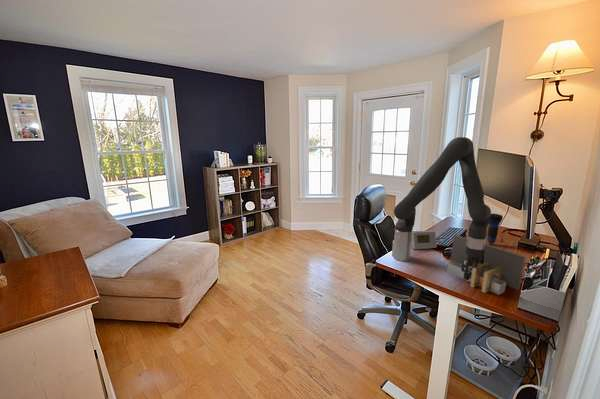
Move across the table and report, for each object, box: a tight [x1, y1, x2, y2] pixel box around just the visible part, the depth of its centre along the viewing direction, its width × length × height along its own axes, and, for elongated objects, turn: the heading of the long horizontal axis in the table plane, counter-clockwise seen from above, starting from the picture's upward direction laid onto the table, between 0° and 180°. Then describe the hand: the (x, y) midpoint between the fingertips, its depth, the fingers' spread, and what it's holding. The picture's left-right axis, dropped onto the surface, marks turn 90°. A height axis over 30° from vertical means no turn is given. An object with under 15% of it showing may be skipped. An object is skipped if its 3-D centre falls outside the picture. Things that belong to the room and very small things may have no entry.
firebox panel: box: [449, 234, 526, 291], centre depth 131 cm, size 32×1×16 cm, turn 28°
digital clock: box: [411, 230, 438, 250], centre depth 166 cm, size 16×9×11 cm, turn 85°
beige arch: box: [469, 262, 491, 288], centre depth 124 cm, size 2×12×10 cm, turn 118°
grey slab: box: [446, 261, 507, 296], centre depth 127 cm, size 24×5×5 cm, turn 28°
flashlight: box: [486, 212, 503, 246], centre depth 168 cm, size 8×8×20 cm
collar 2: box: [481, 266, 503, 294], centre depth 119 cm, size 2×12×10 cm, turn 118°
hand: (470, 277), depth 128 cm, fingers open, 7 cm apart
